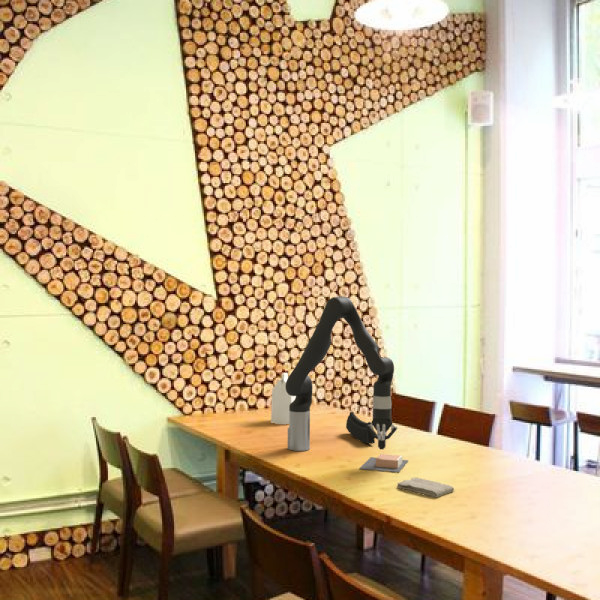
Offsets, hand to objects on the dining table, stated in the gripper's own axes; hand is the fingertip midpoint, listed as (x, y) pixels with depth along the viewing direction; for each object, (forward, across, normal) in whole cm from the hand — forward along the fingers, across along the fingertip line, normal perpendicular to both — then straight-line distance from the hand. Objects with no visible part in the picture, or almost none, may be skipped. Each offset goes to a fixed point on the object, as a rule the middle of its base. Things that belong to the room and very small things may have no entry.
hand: (381, 449), depth 299 cm
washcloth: (+7, +22, -30) cm, 38 cm away
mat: (+7, +1, 0) cm, 7 cm away
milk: (+7, -69, +74) cm, 101 cm away
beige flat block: (+5, -2, 0) cm, 5 cm away
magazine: (+7, -21, +45) cm, 50 cm away
